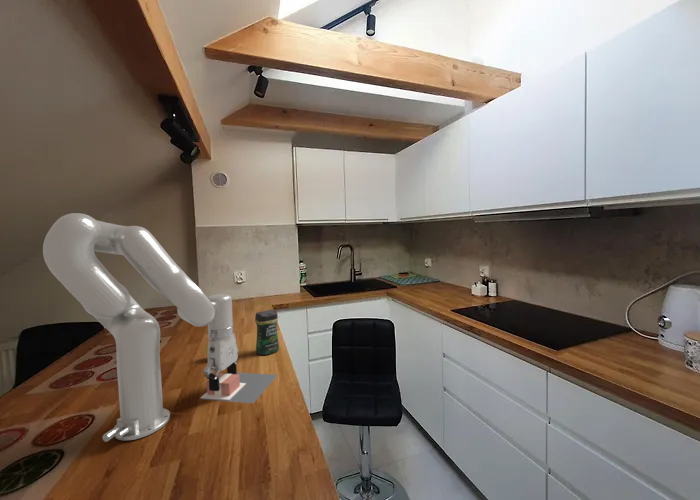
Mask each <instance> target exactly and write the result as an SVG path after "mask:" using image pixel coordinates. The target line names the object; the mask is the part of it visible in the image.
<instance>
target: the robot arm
mask: <svg viewBox="0 0 700 500" xmlns="http://www.w3.org/2000/svg"><path fill="white" fill-rule="evenodd" d="M42 244H43V245H42V254H43V260H44V262H45V264H46V266H47V268H48V270H49V271H50V272H51V274H52V275H53V276H54V278H56V279H57V280H58V282H60V283H61V284H62V285H63V287H64V288H65V289H66V290H67V291H68V292H69V294H71V295H72V296H73V298H75V299H76V300H77V301H78V302H79V303H80V304H81V306H82V307H83V309H84V310H85V312H87V314H90V315H91V316H93V317H94V318H95V320H97V321H98V322H99V324H101V325H102V326H103V327H104V328H105V329H106V330H107V331H108V332H109V333H110V334H111V335H112V336H113V338H114V340H115V346H116V347H115V348H116V354H115V355H116V357H115V358H116V373H117V375H116V376H117V385H118V386H117V387H118V399H119V400H118V401H119V414H120V417H118V418H117V419H116V425H114V427H113V428H112V429H110V430H109V431H107V432H105V433H104V434H103V435H102V440H103V442H105V443H107V442H108V441H110V440H111V439H113V438H115V439H117V440H119V441H133V440H139V439H142V438H144V437H147V436H149V435H151V434H154V433H156V432H157V431H159V430H161V429H162V428H163V427H165V425H166V424H168V422H169V420H170V419H171V413H170V411H169V409H167V408H165V407H164V404H163V403H164V401H163V388H162V386H163V385H162V370H161V356H160V353H161V352H160V351H161V350H160V345H161V344H160V343H161V329H160V328H161V327H160V324H159V322H158V321H157V319H156V318H155V317H154V316H153V315H151V313H149V312H147V311H146V310H145V309H143V308H142V307H141V305H140V304H139V303H138V302H137V301H136V300H135V298H133V297H132V296H131V294H130V292H129V290H128V289H127V288H126V286H124V285H123V284H121V282H119V281H118V280H117V278H115V277H114V276H113V275H112V274H111V273H110V271H108V269H107V268H106V267H105V266H104V265H103V263H102V262H101V261H100V260H99V258H97V255H96V254H95V252H98V253H105V254H112V255H118V256H119V255H120V256H124V258H125V259H126V260H127V261H128V262H129V263H130V264H131V265H132V267H133V268H134V269H135V270H136V271H137V272H138V273H139V274H140V275H141V277H142V278H143V279H144V281H146V282H147V283H148V284H149V285H150V286H151V287H152V288H153V289H154V290H155V291H157V292H158V293H160V294H161V295H163V296H164V297H166V298H167V299H168V300H169V301H170V302H171V303H172V304H173V305H174V306H175V307H176V308H177V309H176V310H177V311H176V312H177V315H178V316H179V317H180V318H181V319H182V320H183V321H185V322H187V323H189V324H191V325H192V326H194V327H205V326H207V330H208V341H207V342H208V343H207V345H208V357H207V364H206V365H205V368H204V369H203V373H204V375H205V378H206V379H207V380H208V381H209V390H210V391H219V389H220V388H219V378H217V377H218V375H219V373H220V372H223V371H224V370H226V371H227V373H226V374H237V373H238V372H237V371H238V370H237V363H238V361H237V360H238V359H239V358H238V356H239V354H238V353H239V347H238V345H237V339H236V334H235V331H234V319H233V318H234V317H233V301H232V300H233V299H232V296H231V295H230V294H229V293H228V294H227V293H217V294H212V295H210V296H207V295H206V294H205V293H204V291H203V290H201V288H200V287H199V286H198V285H197V283H195V282H194V281H193V280H192V279H191V278H190V277H189V276H188V275H187V274H186V273H185V271H184V270H182V269H181V267H180V266H179V265H178V264H177V262H175V260H174V259H173V258H172V257H171V256H170V255H169V254H168V252H167V251H166V250H165V248H164V247H163V246H162V245H161V243H160V242H159V241H158V240H157V238H155V236H154V235H153V234H152V233H151V232H150V231H149V230H148V229H146V228H145V227H142V226H138V225H129V226H126V225H120V224H115V223H110V222H105V221H101V220H97V219H95V218H94V217H93V216H91V215H88V214H86V213H80V212H78V213H77V212H73V213H71V212H70V213H68V214H65V215H62V216H60V217H59V218H58V219H57V220H56V221H55V222H54V223H53V224H52V226H51V227H50V229H49V230H48V232H47V233H46V235H45V238H44V240H43V243H42ZM214 372H215V373H214Z"/></svg>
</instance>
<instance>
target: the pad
mask: <svg viewBox="0 0 700 500" xmlns="http://www.w3.org/2000/svg"><path fill="white" fill-rule="evenodd" d="M245 384H246V383H240V386H239V387H238V388H237V389H236V390H235V391H234V392H233V393H232V394H231V395H230V396H227V395H213V394H207V391H206V392H205V393H203V395H201V397H200V399H202V398H204V399H203V400H205V399H217V400H216V401H218V400H230V399H231V398H232V397H233V396H234V395H235V394H236V393H237V392H238V391H239V390H240V389H241V388H242V387H243V386H244V385H245Z"/></svg>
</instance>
